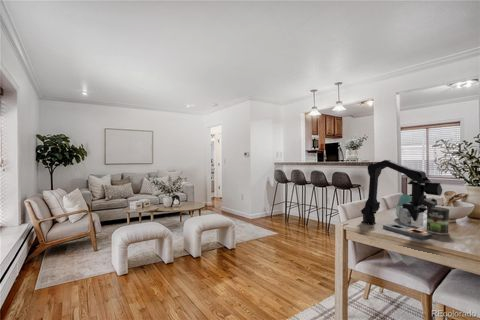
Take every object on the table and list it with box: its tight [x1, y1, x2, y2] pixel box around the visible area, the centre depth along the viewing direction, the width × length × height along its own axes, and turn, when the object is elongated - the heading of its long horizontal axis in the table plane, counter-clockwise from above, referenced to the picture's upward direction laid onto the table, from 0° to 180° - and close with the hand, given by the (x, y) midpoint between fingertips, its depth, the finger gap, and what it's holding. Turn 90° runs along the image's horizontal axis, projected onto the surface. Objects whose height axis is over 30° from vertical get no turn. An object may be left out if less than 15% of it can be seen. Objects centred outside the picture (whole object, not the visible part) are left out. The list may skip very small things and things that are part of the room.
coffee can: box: [426, 206, 450, 236], centre depth 143 cm, size 10×10×14 cm
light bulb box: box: [399, 206, 413, 227], centre depth 159 cm, size 11×7×11 cm, turn 168°
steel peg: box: [411, 211, 424, 228], centre depth 137 cm, size 4×4×8 cm
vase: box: [395, 194, 412, 220], centre depth 171 cm, size 12×12×18 cm
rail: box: [382, 223, 434, 241], centre depth 142 cm, size 22×10×2 cm, turn 26°
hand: (417, 220), depth 137 cm, fingers closed on steel peg, 4 cm apart
